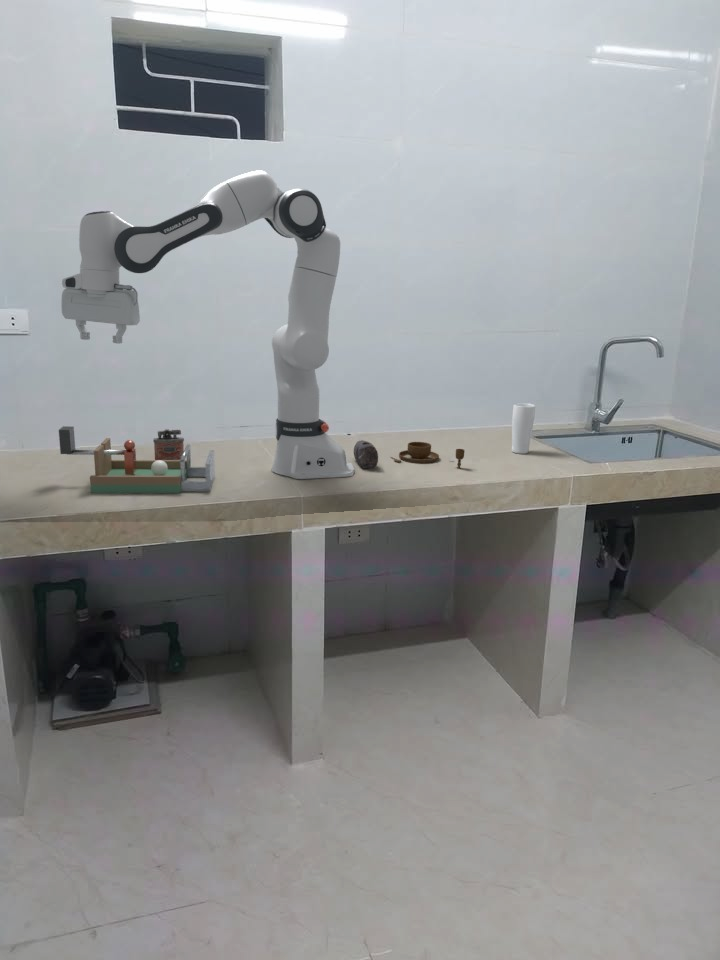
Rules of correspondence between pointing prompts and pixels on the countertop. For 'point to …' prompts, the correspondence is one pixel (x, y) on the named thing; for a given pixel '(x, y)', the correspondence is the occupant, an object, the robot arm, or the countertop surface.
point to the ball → (159, 468)
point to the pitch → (132, 475)
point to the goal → (197, 473)
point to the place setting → (424, 454)
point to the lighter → (168, 445)
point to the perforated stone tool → (365, 454)
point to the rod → (69, 448)
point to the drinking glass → (522, 427)
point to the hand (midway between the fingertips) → (101, 341)
